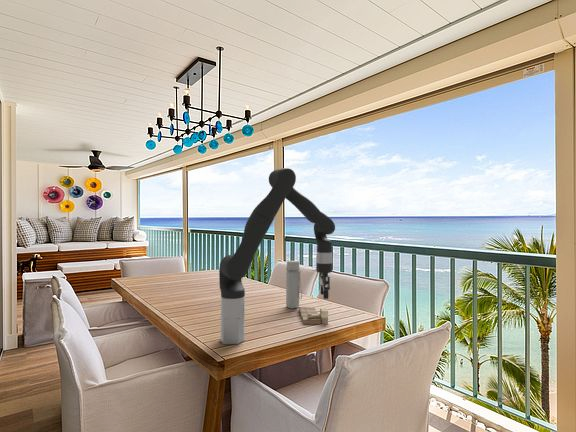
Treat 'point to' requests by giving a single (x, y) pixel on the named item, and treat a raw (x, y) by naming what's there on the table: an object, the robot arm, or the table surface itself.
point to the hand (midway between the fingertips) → (324, 296)
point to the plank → (304, 315)
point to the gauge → (321, 315)
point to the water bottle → (293, 284)
